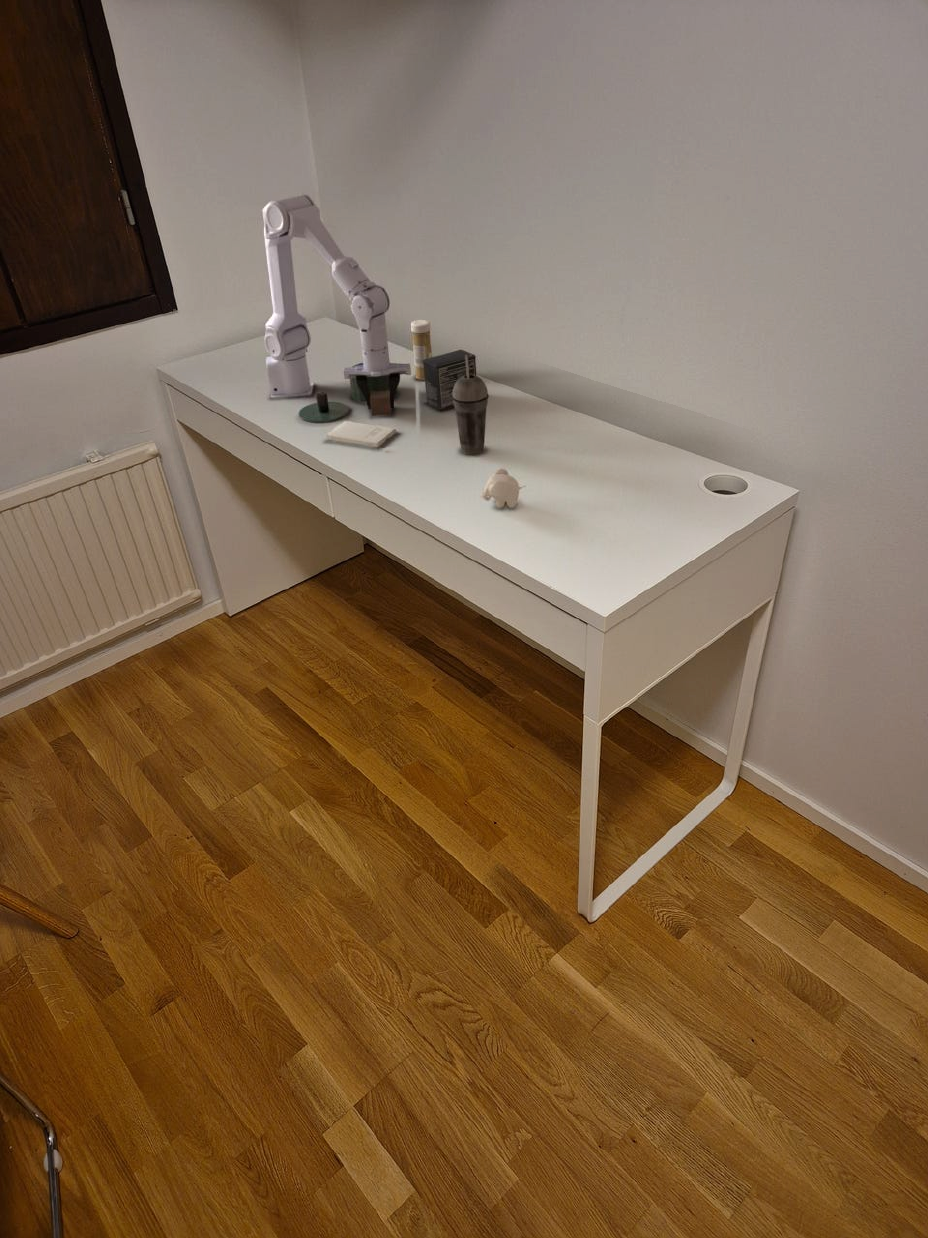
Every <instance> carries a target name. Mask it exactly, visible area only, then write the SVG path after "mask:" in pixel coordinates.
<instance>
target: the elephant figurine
mask: <svg viewBox="0 0 928 1238" xmlns="http://www.w3.org/2000/svg"><path fill="white" fill-rule="evenodd" d="M525 487H526V485H523V486H520V485H519V482H518V480H517V479H516V478H515V477H513V476H511V475H509V472H508V470H507V469H506V468H498V469H497V470H496V471H494V473H493V474H492V475H491V476H489V478H488V479H487V482H486V484H485V486H484V488H483V489H482V492H481V498H483V500H485V501H486V502H489V501H491V500H492V498H493V499H494V501H495V504H496V505H495V506H496V507H497V508H498V509H501V508H504V506H505V503H506V506H507V507H508V508H510V509H513V508H515V507H516V505H517V502H518V500H519V495H520V490H521V489H523V488H525Z"/></svg>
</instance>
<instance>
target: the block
mask: <svg viewBox="0 0 928 1238" xmlns="http://www.w3.org/2000/svg"><path fill="white" fill-rule="evenodd" d="M370 405H371V410H370V413H371V416H384V415H385V416H386V415H392V413H393V412H392V410H393V408H391V403H390V390H389V391H374V392H370Z"/></svg>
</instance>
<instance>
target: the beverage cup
mask: <svg viewBox="0 0 928 1238" xmlns="http://www.w3.org/2000/svg"><path fill="white" fill-rule="evenodd" d="M465 361H466V372H467V375H465V376H463V377H461V378H460V379H458V380H457V382H456V383H455V385H454V388H453V392H452V399H453V403H454V407H453V408H454V410H455V411H454V412H455V416H456V417H455V418H456V423H457V424H456V425H457V431H458V437H459V444H460V448H461V453H462V454H464V455H466V456H477V455H481V454H482V453H483V452H484V451H485V439H486V438H485V437H486V424H487V423H486V421H487V420H486V419H487V418H486V417H487V407H488V402H489V396H490V393H489V391H488V388H487V387H488V386H487V385H486V383H485V381H484V380H483V379H482V378H481V377H479V376H477V375H476V376H475V375H469V366H468V355H465Z"/></svg>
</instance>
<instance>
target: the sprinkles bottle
mask: <svg viewBox="0 0 928 1238" xmlns="http://www.w3.org/2000/svg"><path fill="white" fill-rule="evenodd" d="M410 329H411V333H412V334H411V335H412V348H413V361H414V367H415V368H414V369H415V379H416V380H418V381H425V377H424V366H423V360H424V359H428V358H431V357H433V353H432V351H433V350H432V344H431V322H430V321H429V320H427V319H417V320H413V321H412V322H411V323H410Z"/></svg>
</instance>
